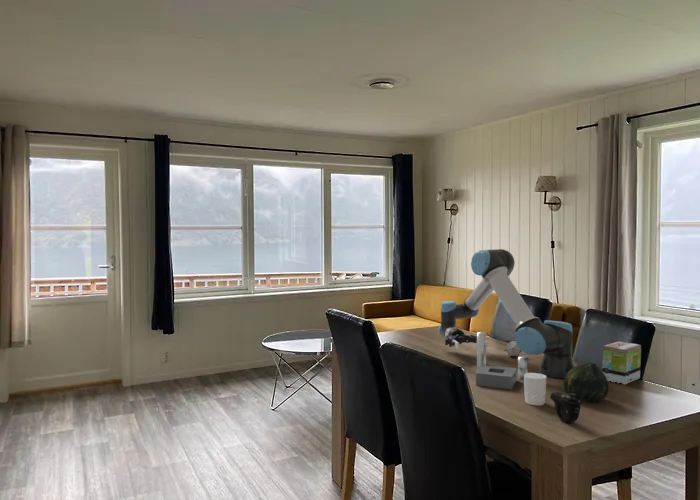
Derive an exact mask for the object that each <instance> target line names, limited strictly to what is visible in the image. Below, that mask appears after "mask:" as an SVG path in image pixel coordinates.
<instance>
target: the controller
mask: <svg viewBox="0 0 700 500" xmlns="http://www.w3.org/2000/svg"><path fill="white" fill-rule="evenodd" d="M569 395H570V396H569ZM569 395H567V394H564V393H562V392H551V393H550V396H549V399H551V401H553V403H554V409H555V413H556V415H557V417H558V418H559V419H560V420H561V421H562V422H564V423H574V422H576V421H577V420H578V419H579V416H580V411H581V404H582V402H581V401H580V400H579V399H576V398H575V397H574V396H575V395H576V394H574V393H569Z"/></svg>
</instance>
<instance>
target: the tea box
mask: <svg viewBox="0 0 700 500" xmlns="http://www.w3.org/2000/svg"><path fill="white" fill-rule="evenodd" d="M602 350H603V351H602V368H601V369H602V370H601V371H602V372H603V373H604V375H605V376H606V379H607V382H610V381H611V382H612V383H615V382H617V383H616V384H619V383H622V384H621V385H627V384H629V383H631V382H634V381H636V380H638V379H640V378H641V361H642V359H641V358H642V345H641V344H638V343H632V342H631V343H630V342H624V341H615V342H610V343H608V344H605V345H603V349H602ZM611 382H610V383H611Z"/></svg>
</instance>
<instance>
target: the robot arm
mask: <svg viewBox="0 0 700 500" xmlns="http://www.w3.org/2000/svg"><path fill="white" fill-rule="evenodd" d="M470 267H471V271H472V272H473V273H474V275H477V276H480V277H481V278H482V280H481V281H480V282H479V284H478V285H477V286H476V287H475V288H474V290H473V291H472V292H471V293H470V294H469V296H468V297H467V298H466V300H465V301H464V302H462V303H459V304H458V303H456V302H455V301H452V300H449V301H448V300H445V301H442V302H441V304H440V325H439V326H438V334H439V336H441V337H442V338H443V339H444V345H445V346H447V345H449V347H450V348H452V347H454V348H455V349H457V350H459V349H460V345H461V344H463V343H465V344H469V343H473V344H477V335H473V334H469V335H468V334H465V332H464V331H463V330H461V329H460V328H457V327H456V323H457V320H461V319H472V318H475V317H477V316H478V314H479V311H480V307H481V306H482V305H483V303H484V302H485V301H486V300H487V299H488V298H489V297H490V295H491V294H492V293H493V291H494V292H495V293H496V295H497V297H498V299H499V300H500V303H501V304H502V305H503V308H504V309H505V310H506V312H507V313H508V315H509V317H510V318H511V320H512V322H513V323H514V325H515V329H514V331H515V336H514V337H515V342H516V344H517V346H518V347H519V349H520V350H521V351H522V352H521V353H524V354H526V355H531V356H533V355H535V356H536V355H537V356H538V355H541V354H543V356H542V359H541V361H540V364H539V368H538V369H539V371H538V372H539V374H543V375H545V376H547V377H549V378H556V379H564V378H565V376H566V375H567V373H568V372H569V371H570V370H571V369H572V368H574V367H576V366H575V361H574V359H573V333H574V332H573V325H572V323H569V322H566V321H559V320H550V319H549V320H548V319H546V320H544V321H543V322H542V320H541V319H540V317H537V316H534V314H533V313H532V311H531V310H530V308H529V306H528V305H527V303H526V302H525V300H524V299H523V297H522V296H521V294H520V292H519V291H518V289H517V287H516V286H515V285H514V283H513V281H512V279H510V275H511V274H512V272H513V270H514V268H515V258H514V256H513V254H512V253H511V252H510V251H508V250H506V249H503V248H501V249H500V248H499V249H485V248H484V249H479V250H477V251H475V253H474V254H473V255H472V257H471V262H470ZM487 347H488V341H487V340H486V348H487Z"/></svg>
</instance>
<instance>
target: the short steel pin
mask: <svg viewBox="0 0 700 500" xmlns="http://www.w3.org/2000/svg"><path fill="white" fill-rule="evenodd" d="M517 356H518V355H517ZM528 366H529V359H528V356H525V355H519V356H518V357H517V379H519V380H522V381H524V374H526V373H529V371H528V370H529V368H528Z"/></svg>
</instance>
